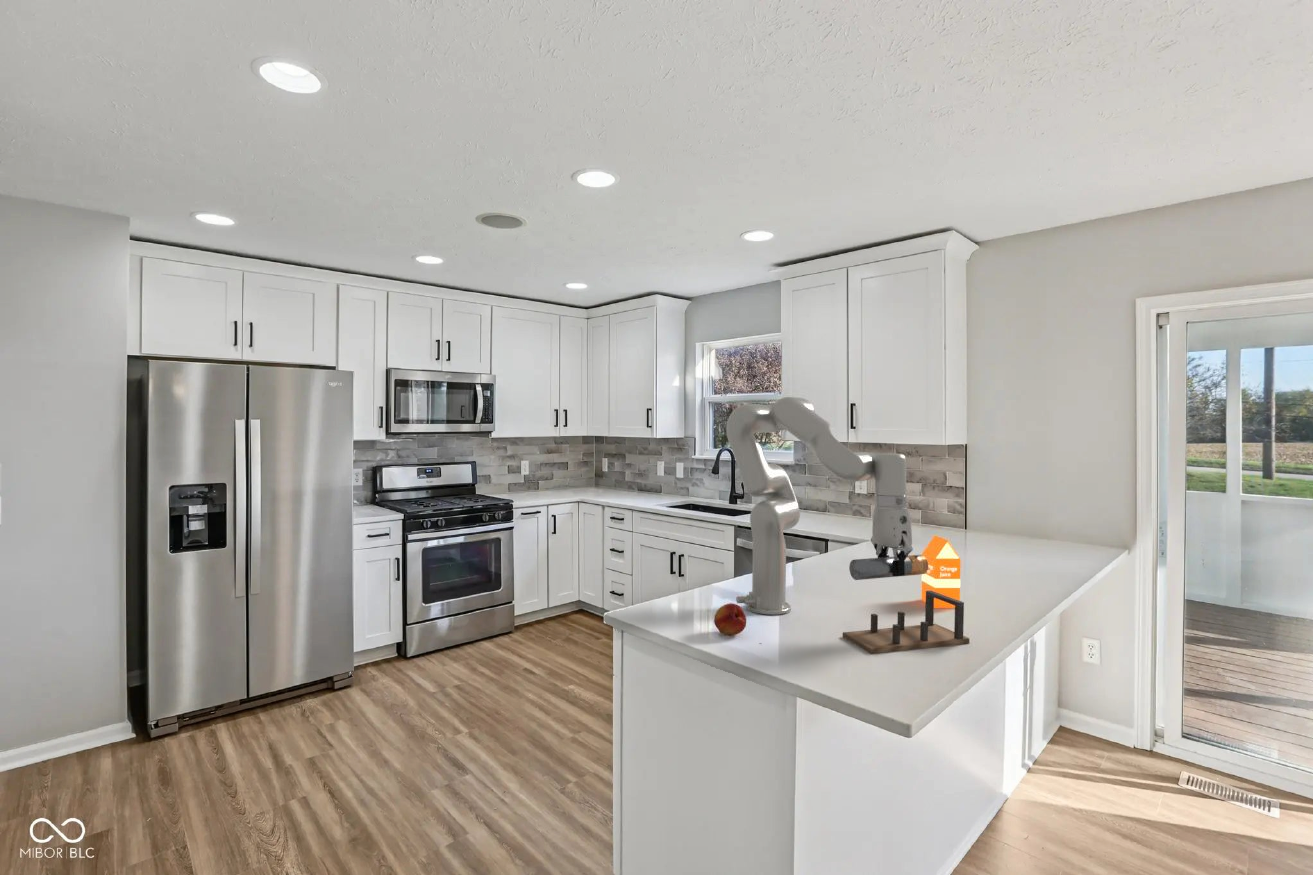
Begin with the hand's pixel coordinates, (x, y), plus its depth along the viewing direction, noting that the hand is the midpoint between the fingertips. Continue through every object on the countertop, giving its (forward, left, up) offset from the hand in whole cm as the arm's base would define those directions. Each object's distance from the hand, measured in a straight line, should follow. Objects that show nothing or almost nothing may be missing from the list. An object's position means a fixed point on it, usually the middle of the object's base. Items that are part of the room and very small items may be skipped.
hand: (890, 572), depth 160 cm
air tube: (-1, +1, -1) cm, 1 cm away
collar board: (+2, -4, -16) cm, 17 cm away
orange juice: (+34, +21, -16) cm, 43 cm away
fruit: (-39, +11, -16) cm, 44 cm away
